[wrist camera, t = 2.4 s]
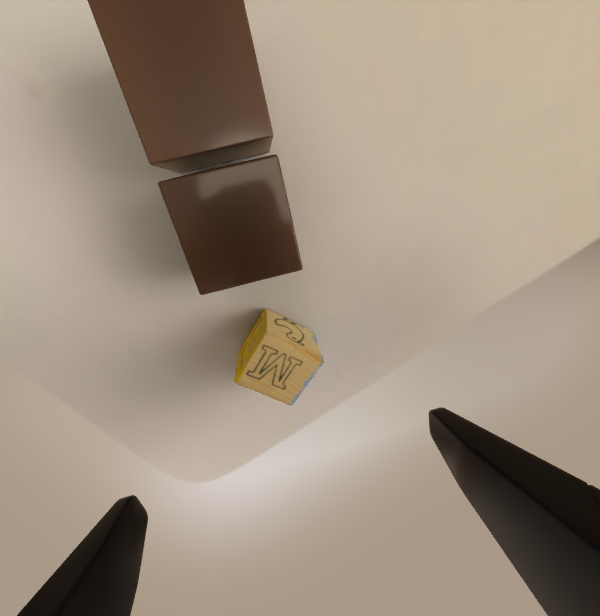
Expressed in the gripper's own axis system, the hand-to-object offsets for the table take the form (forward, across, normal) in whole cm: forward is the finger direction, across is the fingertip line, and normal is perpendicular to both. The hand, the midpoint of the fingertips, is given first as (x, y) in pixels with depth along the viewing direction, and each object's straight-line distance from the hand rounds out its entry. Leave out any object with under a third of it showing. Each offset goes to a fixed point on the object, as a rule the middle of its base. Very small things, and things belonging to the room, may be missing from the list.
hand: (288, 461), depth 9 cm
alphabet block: (+8, 0, 0) cm, 8 cm away
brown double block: (+8, 0, -8) cm, 11 cm away
